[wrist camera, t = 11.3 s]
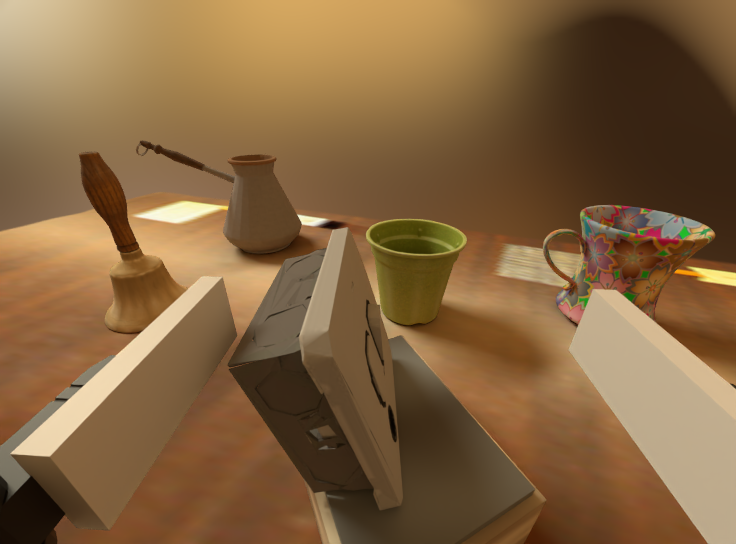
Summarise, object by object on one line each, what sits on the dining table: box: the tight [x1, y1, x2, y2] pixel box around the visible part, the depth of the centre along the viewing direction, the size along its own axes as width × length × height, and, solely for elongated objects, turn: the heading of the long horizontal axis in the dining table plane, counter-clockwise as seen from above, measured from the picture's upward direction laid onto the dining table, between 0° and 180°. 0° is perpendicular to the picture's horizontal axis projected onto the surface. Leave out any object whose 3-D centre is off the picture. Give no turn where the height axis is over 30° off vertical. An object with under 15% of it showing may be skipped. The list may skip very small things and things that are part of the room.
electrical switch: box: [228, 227, 403, 510], centre depth 15 cm, size 9×5×9 cm, turn 179°
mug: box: [543, 205, 715, 325], centre depth 30 cm, size 12×9×11 cm
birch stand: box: [304, 336, 546, 544], centre depth 18 cm, size 12×9×5 cm
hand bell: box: [79, 152, 188, 333], centre depth 30 cm, size 8×8×16 cm
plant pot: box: [366, 219, 467, 325], centre depth 32 cm, size 9×9×9 cm
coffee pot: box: [136, 141, 302, 254], centre depth 46 cm, size 21×12×15 cm, turn 88°
